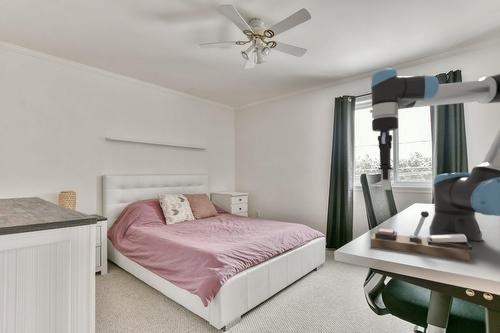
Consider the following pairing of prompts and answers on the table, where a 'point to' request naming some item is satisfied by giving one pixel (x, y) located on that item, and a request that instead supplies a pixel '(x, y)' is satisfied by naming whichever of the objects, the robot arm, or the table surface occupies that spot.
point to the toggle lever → (421, 222)
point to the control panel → (421, 245)
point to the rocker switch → (449, 238)
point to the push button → (386, 231)
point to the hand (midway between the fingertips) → (386, 189)
